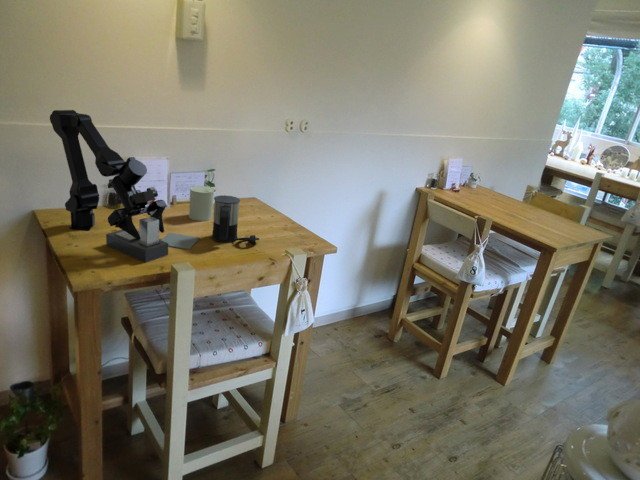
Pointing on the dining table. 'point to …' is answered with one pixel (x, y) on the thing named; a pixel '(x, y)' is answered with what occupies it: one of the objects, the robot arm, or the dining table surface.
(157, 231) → the grey rectangular block
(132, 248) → the dark grey socket base
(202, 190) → the can
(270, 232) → the dining table surface
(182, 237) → the mat
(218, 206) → the milk frother
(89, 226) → the robot arm
